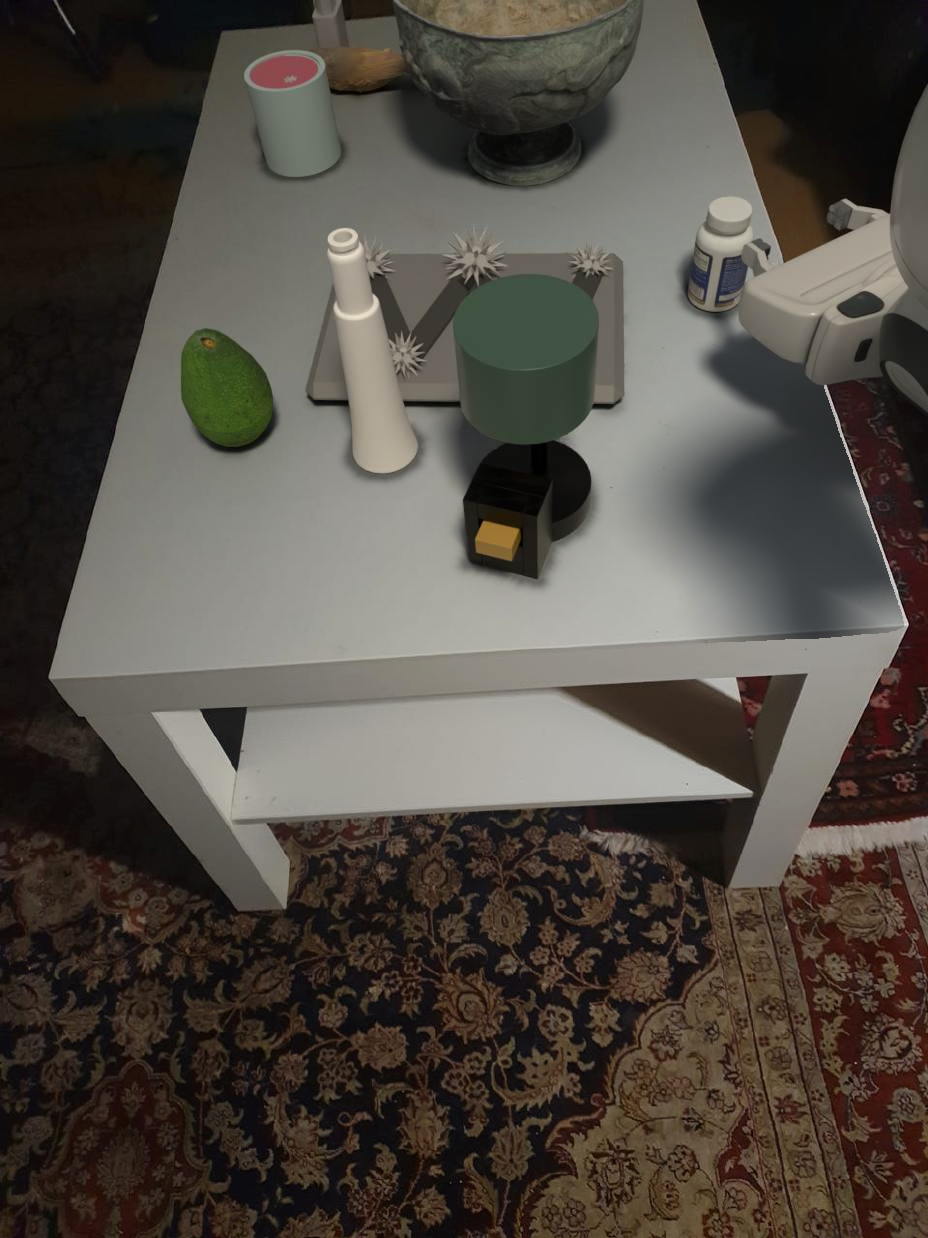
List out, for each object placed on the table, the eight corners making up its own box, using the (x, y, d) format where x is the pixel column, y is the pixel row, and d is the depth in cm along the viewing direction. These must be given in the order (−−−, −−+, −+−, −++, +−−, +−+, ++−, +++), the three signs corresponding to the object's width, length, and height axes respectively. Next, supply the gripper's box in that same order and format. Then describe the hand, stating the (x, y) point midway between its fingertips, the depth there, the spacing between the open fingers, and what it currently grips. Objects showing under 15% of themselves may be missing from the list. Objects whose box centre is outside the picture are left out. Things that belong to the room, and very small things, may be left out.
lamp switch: (512, 561, 71) (511, 548, 70) (475, 552, 72) (474, 539, 71) (521, 538, 73) (521, 524, 71) (485, 529, 73) (484, 516, 72)
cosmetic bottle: (353, 478, 83) (300, 267, 65) (351, 430, 86) (300, 216, 68) (420, 470, 83) (386, 256, 65) (415, 422, 86) (381, 206, 68)
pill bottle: (745, 283, 94) (764, 194, 86) (736, 317, 91) (755, 229, 83) (692, 275, 95) (706, 187, 87) (682, 309, 92) (695, 221, 84)
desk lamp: (561, 585, 75) (566, 403, 58) (446, 556, 77) (420, 374, 61) (603, 470, 81) (619, 277, 65) (496, 447, 84) (485, 255, 67)
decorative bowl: (682, 172, 104) (700, -29, 88) (480, 251, 100) (460, 55, 83) (566, 81, 119) (563, -107, 102) (386, 146, 114) (352, -39, 98)
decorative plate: (306, 409, 88) (289, 351, 82) (342, 268, 100) (329, 208, 94) (623, 413, 85) (629, 352, 79) (622, 266, 97) (627, 204, 91)
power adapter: (351, 55, 125) (335, -46, 115) (344, 76, 122) (327, -26, 112) (329, 56, 126) (311, -45, 116) (322, 76, 123) (302, -25, 113)
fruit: (198, 471, 85) (152, 370, 75) (203, 410, 89) (160, 308, 79) (283, 460, 85) (248, 359, 75) (284, 400, 89) (251, 297, 79)
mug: (336, 174, 110) (319, 88, 101) (260, 178, 110) (237, 93, 102) (348, 113, 117) (333, 28, 109) (277, 117, 118) (257, 32, 110)
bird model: (296, 81, 122) (287, 41, 118) (453, 73, 121) (450, 32, 117) (290, 105, 119) (281, 65, 115) (451, 97, 117) (448, 55, 113)
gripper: (1022, 230, 73) (894, 151, 80) (820, 330, 68) (703, 238, 75) (990, 297, 78) (873, 217, 85) (801, 394, 74) (693, 302, 81)
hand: (792, 228), depth 80 cm, fingers open, 8 cm apart
